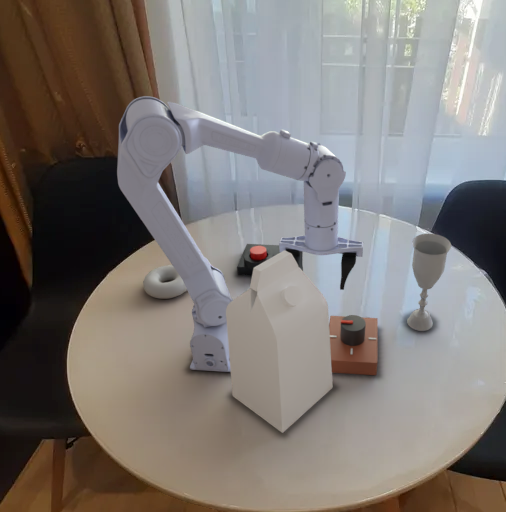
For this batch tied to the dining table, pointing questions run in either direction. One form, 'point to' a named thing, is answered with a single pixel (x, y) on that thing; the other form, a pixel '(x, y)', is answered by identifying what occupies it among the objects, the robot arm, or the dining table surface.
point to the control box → (248, 264)
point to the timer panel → (354, 349)
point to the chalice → (427, 273)
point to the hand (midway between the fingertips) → (321, 285)
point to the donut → (167, 289)
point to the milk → (279, 343)
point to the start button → (258, 253)
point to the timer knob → (352, 330)
